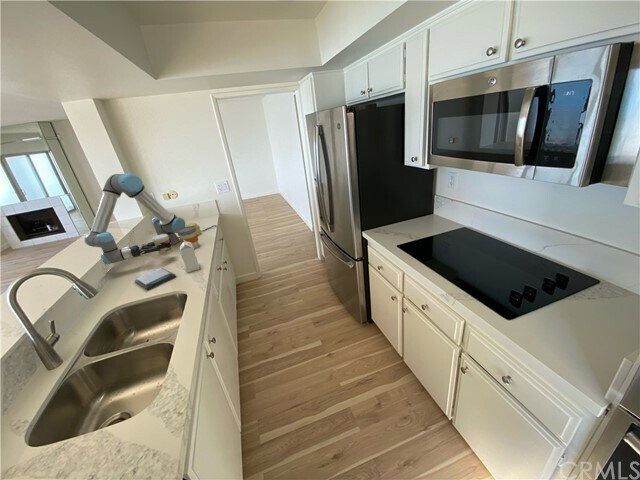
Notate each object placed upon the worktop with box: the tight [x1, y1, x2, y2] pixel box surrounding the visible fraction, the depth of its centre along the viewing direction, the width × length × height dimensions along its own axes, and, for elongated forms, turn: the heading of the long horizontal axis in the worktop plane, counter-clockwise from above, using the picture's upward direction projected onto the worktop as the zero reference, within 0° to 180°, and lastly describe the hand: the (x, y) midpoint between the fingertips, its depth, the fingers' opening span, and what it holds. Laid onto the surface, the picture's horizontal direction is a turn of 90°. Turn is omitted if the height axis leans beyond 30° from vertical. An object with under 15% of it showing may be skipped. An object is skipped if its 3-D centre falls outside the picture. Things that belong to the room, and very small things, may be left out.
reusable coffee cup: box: [176, 226, 199, 250], centre depth 196 cm, size 13×13×15 cm
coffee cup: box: [152, 234, 173, 256], centre depth 176 cm, size 9×9×12 cm
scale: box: [134, 267, 177, 292], centre depth 157 cm, size 16×18×3 cm
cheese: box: [185, 222, 203, 236], centre depth 221 cm, size 10×11×10 cm
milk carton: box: [179, 241, 201, 273], centre depth 161 cm, size 7×7×19 cm
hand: (170, 242), depth 178 cm, fingers closed on coffee cup, 8 cm apart
